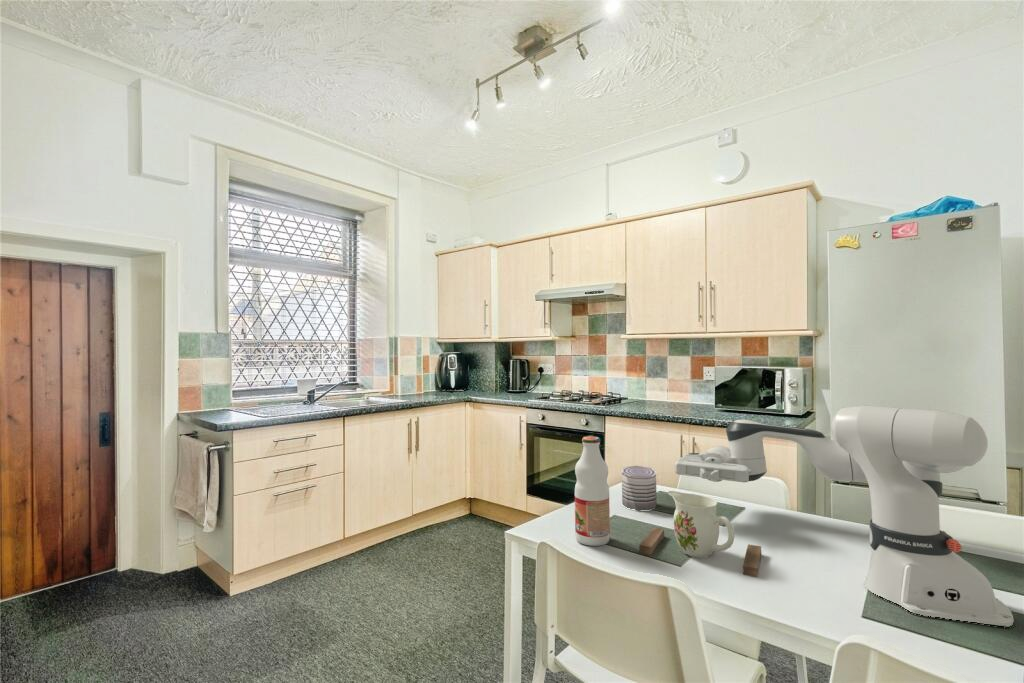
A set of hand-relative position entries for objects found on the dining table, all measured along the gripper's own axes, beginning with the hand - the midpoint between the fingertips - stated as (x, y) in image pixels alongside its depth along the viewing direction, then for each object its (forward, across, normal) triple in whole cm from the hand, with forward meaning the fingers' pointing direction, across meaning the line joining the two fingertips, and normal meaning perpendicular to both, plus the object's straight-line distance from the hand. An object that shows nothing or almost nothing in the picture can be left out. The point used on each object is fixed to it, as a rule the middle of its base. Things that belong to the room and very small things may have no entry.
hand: (707, 476), depth 134 cm
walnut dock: (+15, 0, -16) cm, 22 cm away
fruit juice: (+20, +27, -16) cm, 37 cm away
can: (-15, +24, -16) cm, 32 cm away
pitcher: (+15, 0, -16) cm, 22 cm away
